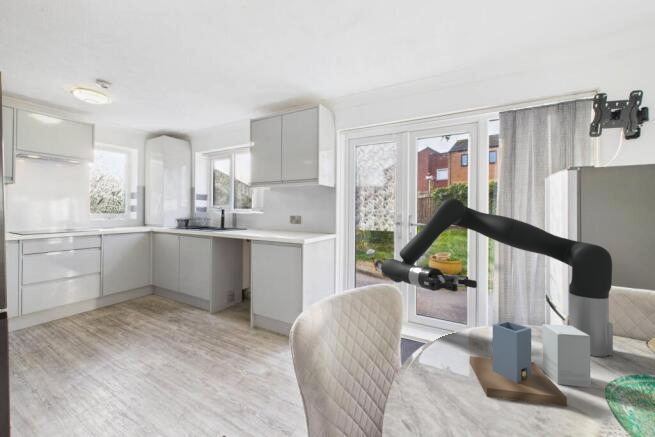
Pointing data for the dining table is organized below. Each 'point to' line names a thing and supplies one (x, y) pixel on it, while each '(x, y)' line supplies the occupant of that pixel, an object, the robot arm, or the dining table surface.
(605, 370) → the dining table surface
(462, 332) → the dining table surface
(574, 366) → the supplement box
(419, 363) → the dining table surface
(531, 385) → the base plate
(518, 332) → the sleeve
